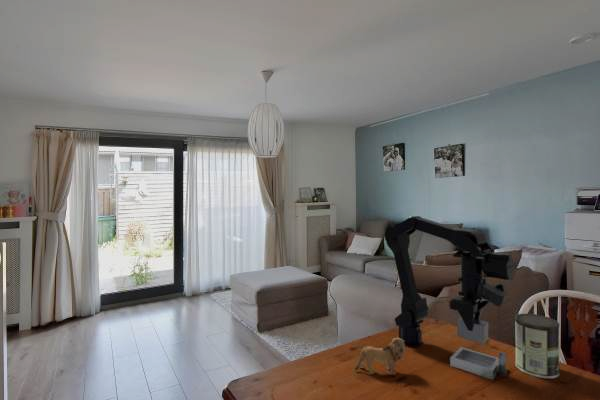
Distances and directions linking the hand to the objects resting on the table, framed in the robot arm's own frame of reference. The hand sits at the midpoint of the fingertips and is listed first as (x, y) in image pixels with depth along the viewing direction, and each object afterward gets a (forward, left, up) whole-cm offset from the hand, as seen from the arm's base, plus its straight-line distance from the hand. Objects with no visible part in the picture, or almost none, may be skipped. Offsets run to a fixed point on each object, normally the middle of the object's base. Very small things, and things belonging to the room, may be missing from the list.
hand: (472, 328), depth 96 cm
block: (0, 0, -3) cm, 3 cm away
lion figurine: (-19, -19, -12) cm, 29 cm away
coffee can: (+13, +11, -12) cm, 21 cm away
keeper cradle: (+2, +1, -11) cm, 11 cm away
